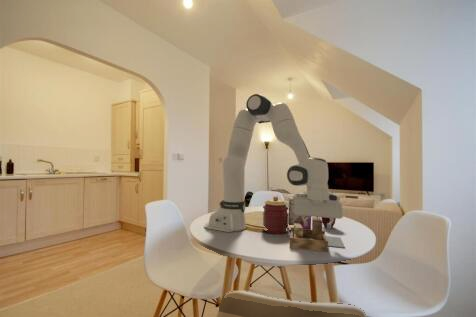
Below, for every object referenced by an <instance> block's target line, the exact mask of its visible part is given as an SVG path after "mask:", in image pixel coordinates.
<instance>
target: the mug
mask: <svg viewBox="0 0 476 317" xmlns="http://www.w3.org/2000/svg"><path fill="white" fill-rule="evenodd" d="M320 218H321V221H322V226H323V227H324V228H327V223H329V222H330V221H331V220H330V218H325V217H320ZM336 219H337V218H334V221H333V223H332V224H331V228H330V229H332V228H333V227H334V225H335V223H336ZM327 229H328V228H327Z"/></svg>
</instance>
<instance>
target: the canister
mask: <svg viewBox="0 0 476 317" xmlns="http://www.w3.org/2000/svg"><path fill="white" fill-rule="evenodd" d="M264 204H265V205H263V206H262V208H263V212H262V216H263V217H262V226H263V225H264V226H265V227H266V228H267V229H268V230H267V232H266V233H269V234H274V235H275V234H277V235H278V234H286V233H287V232H286V228H287V227H288V216H289V213H288V211H289V206H287V204H288V202H285V201H284V200H283V199H279V197H278V196H276V195H274V196H273V197H272V198H270V199H267V200H266V201H265V202H264Z"/></svg>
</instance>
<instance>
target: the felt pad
mask: <svg viewBox="0 0 476 317" xmlns="http://www.w3.org/2000/svg"><path fill="white" fill-rule="evenodd" d="M325 236H326V239H327V241H328V248H329V247H331V248H340V249H345V248H346V246H345V244H344V242H343V241H342V239H341V238H342V237H340V236H329V235H325Z"/></svg>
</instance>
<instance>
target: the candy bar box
mask: <svg viewBox="0 0 476 317" xmlns="http://www.w3.org/2000/svg"><path fill="white" fill-rule="evenodd" d="M293 210H294V203H293V197H288V224H289V225H294V223H296V224H300V225H301V226H302V227H303V229H310V230H312V217H311V216H305V218H304V219H305V221H306V222H308V226H304V222H303V220H302V216H297V215H294V213H293Z"/></svg>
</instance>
